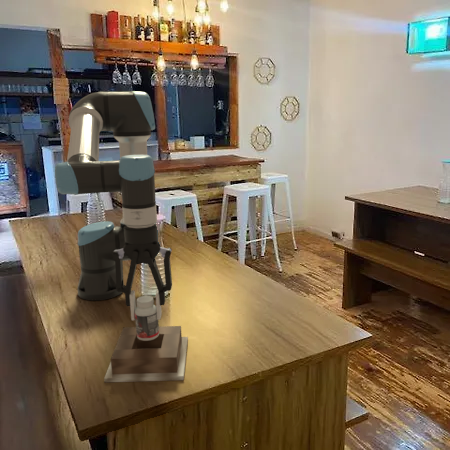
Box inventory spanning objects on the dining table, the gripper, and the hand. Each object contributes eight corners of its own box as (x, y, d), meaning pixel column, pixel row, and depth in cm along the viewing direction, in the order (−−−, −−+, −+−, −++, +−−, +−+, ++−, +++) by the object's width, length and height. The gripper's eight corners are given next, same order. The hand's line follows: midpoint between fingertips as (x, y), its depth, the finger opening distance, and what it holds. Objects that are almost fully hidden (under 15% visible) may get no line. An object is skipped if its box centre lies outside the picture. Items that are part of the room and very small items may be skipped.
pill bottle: (132, 337, 109) (128, 299, 107) (149, 328, 113) (146, 292, 111) (147, 343, 106) (143, 305, 103) (163, 334, 110) (161, 297, 107)
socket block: (104, 382, 103) (102, 362, 102) (120, 341, 120) (118, 324, 119) (183, 380, 103) (182, 360, 102) (187, 340, 121) (187, 323, 119)
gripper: (95, 229, 99) (104, 325, 105) (179, 227, 99) (184, 323, 105) (103, 220, 106) (111, 311, 112) (182, 219, 106) (185, 309, 112)
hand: (146, 317), depth 109 cm, fingers closed on pill bottle, 5 cm apart
